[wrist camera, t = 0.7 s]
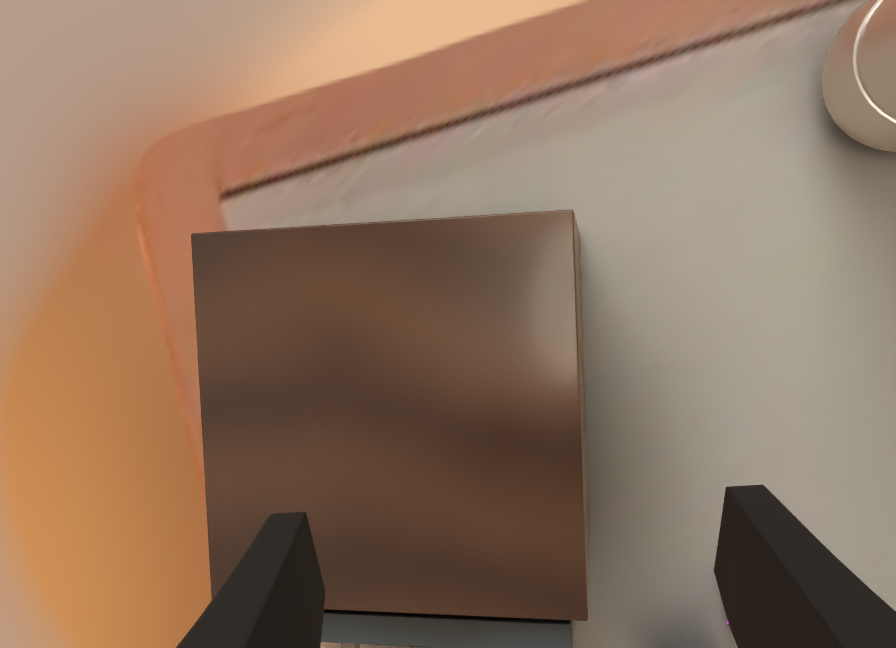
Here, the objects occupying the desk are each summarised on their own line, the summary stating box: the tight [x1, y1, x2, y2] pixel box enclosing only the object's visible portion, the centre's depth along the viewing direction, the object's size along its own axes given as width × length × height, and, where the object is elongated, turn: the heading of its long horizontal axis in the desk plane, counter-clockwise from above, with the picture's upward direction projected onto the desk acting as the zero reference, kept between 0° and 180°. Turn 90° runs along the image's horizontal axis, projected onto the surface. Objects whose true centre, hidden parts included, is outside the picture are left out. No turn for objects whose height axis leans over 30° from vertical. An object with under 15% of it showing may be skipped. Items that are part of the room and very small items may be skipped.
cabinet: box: [191, 210, 589, 621], centre depth 31 cm, size 14×14×9 cm
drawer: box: [321, 609, 575, 648], centre depth 32 cm, size 18×13×7 cm
